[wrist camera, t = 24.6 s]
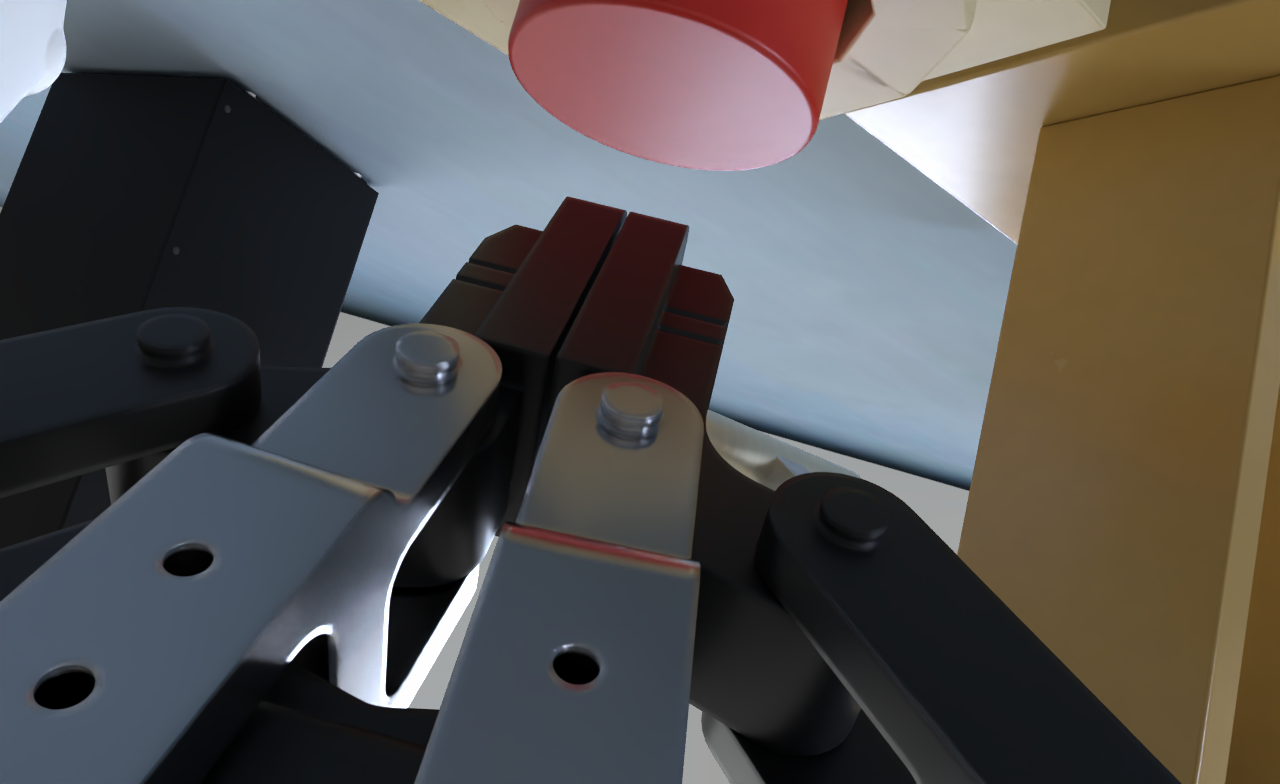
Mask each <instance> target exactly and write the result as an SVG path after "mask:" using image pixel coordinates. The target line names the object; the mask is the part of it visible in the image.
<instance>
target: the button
mask: <svg viewBox="0 0 1280 784" xmlns="http://www.w3.org/2000/svg"><path fill="white" fill-rule="evenodd" d="M847 2H848V0H520V2H519V5H518V8H517V11H516V14H515V18H514V21H513V24H512V27H511V31H510V34H509V39H508V53H509V60H510V63H511V66H512V69H513V71H514V73H515V75H516V77H517V79H518V81H519V82H520V83H521V85H522V86H523V88H524V89H525V90H526V91H527V92H528V94H529V95H530V96H531V97H532V98H533V99H534V100H535V101H536V102H537V103H538V104H539V105H541V106H542V107H543V108H544V109H545V110H546V111H548V112H549V113H550V114H552V115H553V116H554V117H556V118H557V119H558V120H560V121H561V122H563V123H564V124H566V125H568V126H569V127H571V128H572V129H574V130H576V131H578V132H580V133H581V134H583V135H585V136H587V137H589V138H591V139H593V140H595V141H597V142H599V143H602V144H604V145H606V146H609V147H611V148H614V149H616V150H619V151H621V152H624V153H627V154H630V155H633V156H636V157H639V158H643V159H646V160H650V161H654V162H658V163H662V164H667V165H671V166H677V167H683V168H690V169H699V170H711V171H739V170H749V169H756V168H761V167H766V166H770V165H773V164H776V163H779V162H782V161H784V160H786V159H788V158H790V157H792V156H794V155H795V154H797V153H798V152H800V151H801V150H802V149H803V148H804V147H805V146H806V145H807V144H808V142H809V141H810V140H811V138H812V137H813V135H814V134H815V132H816V129H817V126H818V123H819V119H820V114H821V110H822V106H823V102H824V98H825V94H826V90H827V85H828V81H829V77H830V73H831V69H832V65H833V60H834V56H835V52H836V48H837V44H838V40H839V35H840V31H841V27H842V23H843V19H844V15H845V10H846V6H847Z"/></svg>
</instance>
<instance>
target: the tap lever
mask: <svg viewBox="0 0 1280 784" xmlns="http://www.w3.org/2000/svg"><path fill="white" fill-rule="evenodd" d="M706 430H707V434H708V436H709V439H710V441H711V443H712V445H713V446H714V448H715V449H716V451H717V452H718V453H719V454H720V455H721V456H722V458H723V459H724V460H726V461H727V462H728V463H729V464H730V465H731V466H732V467H734V468H735V469H736V470H738V471H739V472H741V473H742V474H743V475H745V476H747V477H749V478H751V479H752V480H754V481H756V482H758V483H760V484H762V485H764V486H766V487H768V488H770V489H772V490H774V491H776V489H777V488H778V487H779V486H780V485H781V484H782V483H783V482H785V481H786V480H788V479H790V478H792V477H794V476H797V475H801V474H804V473H812V472H833V473H841V474H845V475H850V476H854V477H857V478H860V476H859V475H858V474H856V473H855V472H853V471H850V470H848V469H846V468H843V467H841V466H839V465H836V464H834V463H831V462H829V461H827V460H824V459H822V458H820V457H818V456H815V455H813V454H810V453H808V452H806V451H804V450H801V449H799V448H797V447H794V446H792V445H789V444H787V443H785V442H783V441H780V440H778V439H776V438H773V437H771V436H769V435H766V434H764V433H762V432H759V431H757V430H755V429H752V428H750V427H748V426H745V425H743V424H741V423H738V422H736V421H734V420H731V419H729V418H726V417H724V416H722V415H719V414H717V413H715V412H712V411H710V410H708V412H707V416H706ZM860 479H861V478H860Z"/></svg>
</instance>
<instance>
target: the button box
mask: <svg viewBox="0 0 1280 784" xmlns="http://www.w3.org/2000/svg"><path fill="white" fill-rule="evenodd" d="M419 1H421V2H422V3H424V4H425V5H427V6H429V7H430V8H432V9H434V10H435V11H437V12H438V13H440V14H442V15H443V16H445V17H446V18H448V19H450V20H451V21H453V22H455V23H456V24H458V25H459V26H461V27H463V28H464V29H466V30H468V31H469V32H471V33H472V34H474V35H476V36H477V37H479V38H480V39H482V40H484V41H485V42H487V43H489V44H490V45H492V46H493V47H495V48H497V49H498V50H500V51H502V52H503V53H505V54H506V55H508V56H509V53H508V39H509V34H510V31H511V27H512V24H513V21H514V18H515V14H516V11H517V8H518V5H519V2H520V0H419ZM1110 3H1111V0H848V2H847V6H846V10H845V15H844V19H843V23H842V27H841V31H840V35H839V40H838V44H837V48H836V52H835V56H834V60H833V65H832V69H831V73H830V77H829V81H828V85H827V90H826V94H825V98H824V102H823V106H822V110H821V114H820V119H819V120H821V119H825V118H828V117H832V116H836V115H839V114H843V113H847V112H850V111H854V110H858V109H861V108H865V107H868V106H872V105H876V104H879V103H883V102H887V101H890V100H894V99H897V98H901V97H905V96H906V95H907V94H910V93H911V92H912V91H913V90H914V89H915V88H916V87H917V86H918V85H919V84H920V83H921V81H925V80H928V79H932V78H935V77H939V76H942V75H946V74H949V73H953V72H956V71H960V70H964V69H967V68H971V67H974V66H978V65H981V64H985V63H988V62H992V61H995V60H999V59H1002V58H1006V57H1009V56H1013V55H1016V54H1020V53H1023V52H1027V51H1030V50H1034V49H1037V48H1041V47H1044V46H1048V45H1051V44H1055V43H1058V42H1062V41H1065V40H1069V39H1072V38H1076V37H1079V36H1083V35H1086V34H1090V33H1093V32H1097V31H1100V30H1103V29H1105V28H1106V25H1107V19H1108V14H1109V8H1110Z"/></svg>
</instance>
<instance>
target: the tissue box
mask: <svg viewBox="0 0 1280 784" xmlns="http://www.w3.org/2000/svg"><path fill="white" fill-rule="evenodd" d="M255 97H256V95H255V94H253V93H252V92H249V91H245V90H241V89H239V88H238V87H237V86H235V85H234V84H233V83H231V82H229V81H228V80H226V79H217V78H189V77H160V76H132V75H104V74H76V73H60V75H59V76H58V78H57V79H56V80H55V81H54V82H53V84H52V86H51V89H50V91H49V94H48V96H47V99H46V101H45V104H44V106H43V109H42V111H41V114H40V116H39V119H38V121H37V123H36V126H35V128H34V131H33V133H32V136H31V138H30V141H29V143H28V146H27V148H26V151H25V153H24V156H23V158H22V161H21V163H20V166H19V168H18V171H17V173H16V176H15V178H14V181H13V183H12V186H11V188H10V191H9V193H8V196H7V198H6V201H5V203H4V206H3V208H2V211H1V213H0V340H3V339H8V338H13V337H18V336H23V335H27V334H32V333H37V332H42V331H47V330H52V329H57V328H62V327H66V326H71V325H76V324H81V323H86V322H91V321H96V320H101V319H105V318H110V317H115V316H120V315H125V314H130V313H135V312H140V311H144V310H150V309H157V308H166V307H193V308H203V309H209V310H214V311H218V312H221V313H225V314H228V315H230V316H232V317H235V318H237V319H239V320H240V321H242V322H244V323H245V324H246V325H248V326H249V327H250V328H251V329H252V330H253V331H254V333H255V334H256V336H257V338H258V341H259V349H260V365H270V366H289V367H307V368H322V366H323V363H324V360H325V356H326V353H327V350H328V347H329V344H330V341H331V338H332V335H333V332H334V329H335V325H336V323H337V320H338V316H339V314H340V310H341V307H342V304H343V301H344V298H345V295H346V292H347V289H348V286H349V283H350V280H351V277H352V274H353V271H354V267H355V264H356V261H357V258H358V255H359V252H360V249H361V246H362V243H363V240H364V237H365V234H366V231H367V228H368V225H369V221H370V218H371V215H372V212H373V209H374V206H375V203H376V200H377V197H378V194H379V193H378V192H376V191H375V190H374V189H372V188H371V187H370V186H368V185H367V182H365V181H364V180H363V179H361V177H362V176H361V175H360V174H358V173H356V172H352V171H351V170H349V169H348V168H347V167H346V166H344V165H343V164H342V163H340V162H339V161H338V160H336V159H335V158H334V157H332V156H331V155H330V154H328V153H327V152H326V151H324V150H323V149H322V148H320V147H319V146H318V145H316V144H315V143H314V142H312V141H311V140H310V139H308V138H307V137H306V136H304V135H303V134H302V133H301V132H299V131H298V130H297V129H295V128H294V127H293V126H291V125H290V124H289V123H287V122H286V121H285V120H283V119H282V118H281V117H279V116H278V115H277V114H275V113H274V112H273V111H271V110H270V109H269V108H267V107H266V106H265V105H263V104H262V103H261V102H259V101H258V100H257V99H255ZM110 506H111V500H110V494H109V488H108V481H107V475H106V469H105V468H104V469H100V470H97V471H93V472H90V473H87V474H83V475H80V476H76V477H73V478H69V479H66V480H63V481H59V482H56V483H52V484H49V485H45V486H42V487H38V488H35V489H32V490H28V491H25V492H21V493H18V494H14V495H11V496H7V497H4V498H1V499H0V549H2V548H5V547H8V546H11V545H14V544H17V543H20V542H24V541H27V540H30V539H33V538H36V537H39V536H42V535H46V534H49V533H52V532H55V531H58V530H61V529H64V528H68V527H71V526H74V525H77V524H80V523H83V522H86V521H90V520H93V519H96V518H97V517H98V516H99V515H100V514H102V513H103V512H104V511H105V510H106V509H107V508H108V507H110Z"/></svg>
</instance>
